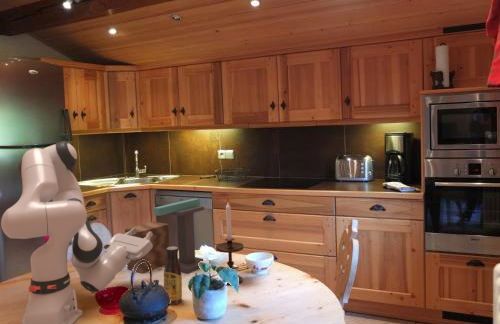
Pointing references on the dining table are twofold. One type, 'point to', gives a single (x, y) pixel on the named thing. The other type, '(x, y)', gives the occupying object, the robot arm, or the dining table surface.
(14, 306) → the dining table surface
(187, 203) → the teal rod
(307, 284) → the dining table surface
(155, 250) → the walnut block
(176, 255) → the sauce bottle
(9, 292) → the dining table surface
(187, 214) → the dark grey pedestal stand
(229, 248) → the candlestick
